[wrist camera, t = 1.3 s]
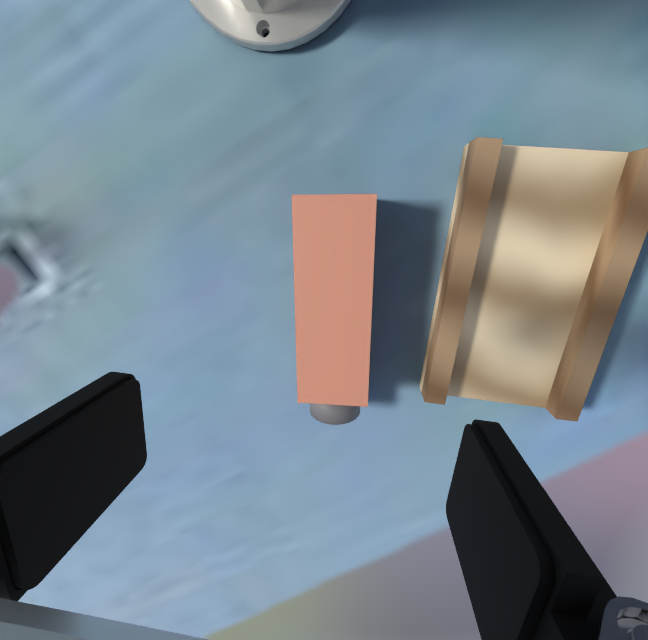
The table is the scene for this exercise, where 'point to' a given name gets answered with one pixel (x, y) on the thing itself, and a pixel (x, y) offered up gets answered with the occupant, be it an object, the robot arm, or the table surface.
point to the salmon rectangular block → (333, 301)
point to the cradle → (534, 273)
